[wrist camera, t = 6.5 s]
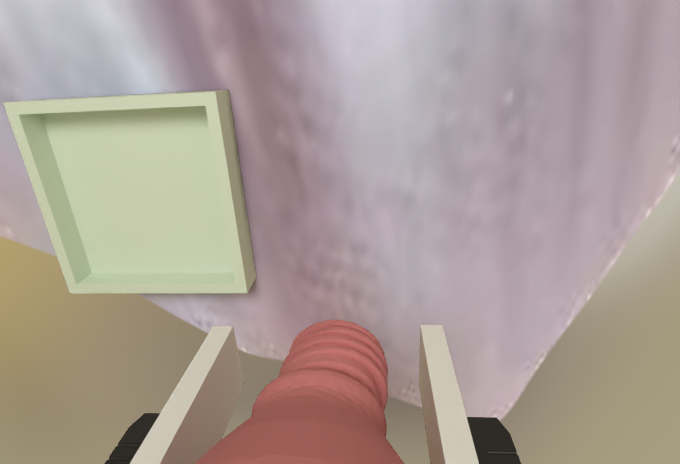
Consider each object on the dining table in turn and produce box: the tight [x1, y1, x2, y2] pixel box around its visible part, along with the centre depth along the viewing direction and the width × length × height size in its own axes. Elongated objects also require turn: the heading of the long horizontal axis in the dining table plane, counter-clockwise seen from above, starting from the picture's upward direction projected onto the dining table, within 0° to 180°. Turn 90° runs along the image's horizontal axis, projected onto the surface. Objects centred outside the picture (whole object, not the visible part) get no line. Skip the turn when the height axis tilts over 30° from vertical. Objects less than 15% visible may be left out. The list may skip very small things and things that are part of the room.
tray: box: [3, 90, 256, 293], centre depth 30 cm, size 15×15×2 cm
